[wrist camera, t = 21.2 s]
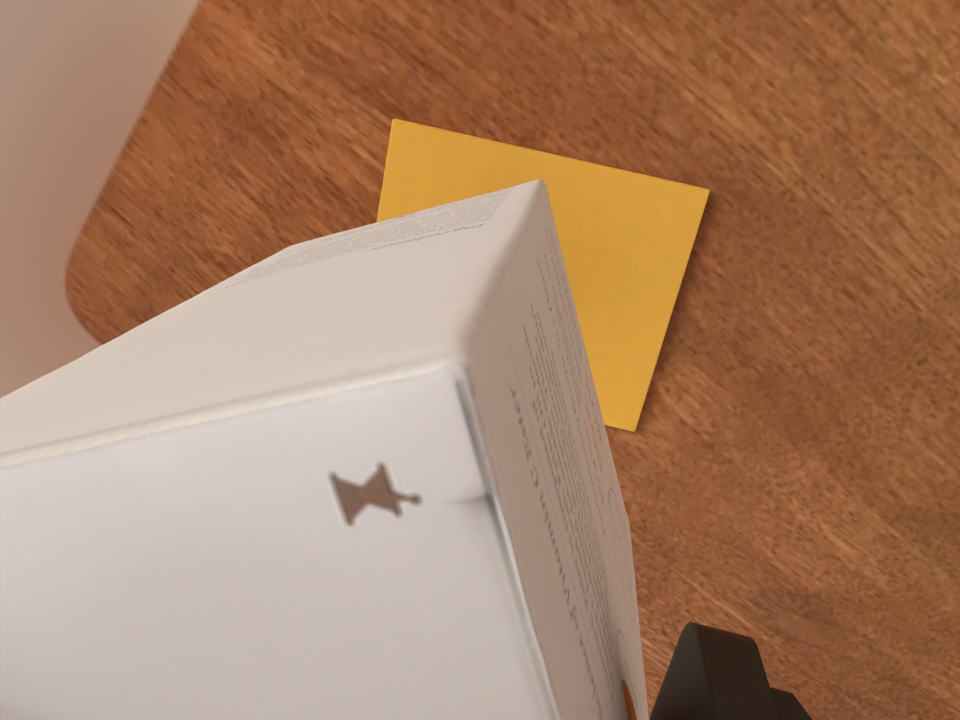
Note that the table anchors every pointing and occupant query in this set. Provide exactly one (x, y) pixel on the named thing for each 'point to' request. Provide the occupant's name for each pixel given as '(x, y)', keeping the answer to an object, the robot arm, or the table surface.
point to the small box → (329, 495)
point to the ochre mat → (573, 240)
